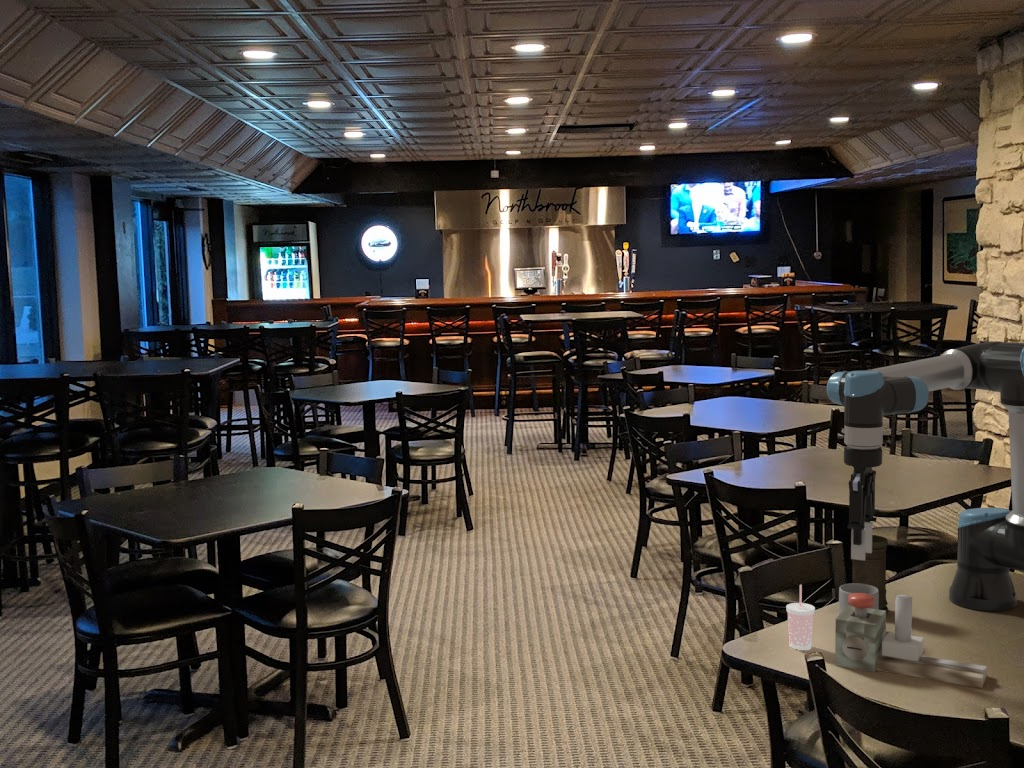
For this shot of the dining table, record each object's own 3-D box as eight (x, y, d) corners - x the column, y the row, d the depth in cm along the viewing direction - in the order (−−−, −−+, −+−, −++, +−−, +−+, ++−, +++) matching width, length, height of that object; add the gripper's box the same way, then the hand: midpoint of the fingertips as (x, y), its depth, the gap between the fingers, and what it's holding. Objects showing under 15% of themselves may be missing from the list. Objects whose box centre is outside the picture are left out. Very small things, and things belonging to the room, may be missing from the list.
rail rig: (987, 673, 209) (989, 625, 208) (980, 691, 200) (981, 642, 199) (846, 649, 224) (847, 605, 223) (834, 666, 215) (834, 619, 214)
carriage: (923, 651, 214) (924, 595, 212) (917, 661, 209) (919, 603, 207) (888, 645, 217) (889, 590, 216) (881, 655, 212) (882, 598, 211)
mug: (867, 645, 226) (868, 597, 225) (831, 636, 232) (832, 589, 231) (891, 631, 234) (892, 584, 233) (856, 623, 240) (856, 577, 239)
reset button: (876, 620, 218) (876, 594, 217) (870, 627, 213) (871, 602, 213) (851, 616, 220) (851, 591, 220) (845, 623, 216) (845, 598, 215)
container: (873, 620, 242) (874, 545, 240) (841, 610, 249) (842, 538, 247) (896, 612, 247) (897, 538, 245) (863, 602, 254) (864, 531, 252)
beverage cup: (787, 640, 230) (787, 579, 229) (815, 643, 228) (816, 581, 227) (784, 650, 225) (784, 587, 223) (813, 653, 223) (814, 590, 221)
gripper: (855, 438, 222) (853, 543, 225) (833, 451, 207) (832, 564, 209) (891, 440, 218) (889, 547, 221) (871, 454, 203) (870, 569, 205)
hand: (861, 555), depth 215 cm, fingers open, 5 cm apart
